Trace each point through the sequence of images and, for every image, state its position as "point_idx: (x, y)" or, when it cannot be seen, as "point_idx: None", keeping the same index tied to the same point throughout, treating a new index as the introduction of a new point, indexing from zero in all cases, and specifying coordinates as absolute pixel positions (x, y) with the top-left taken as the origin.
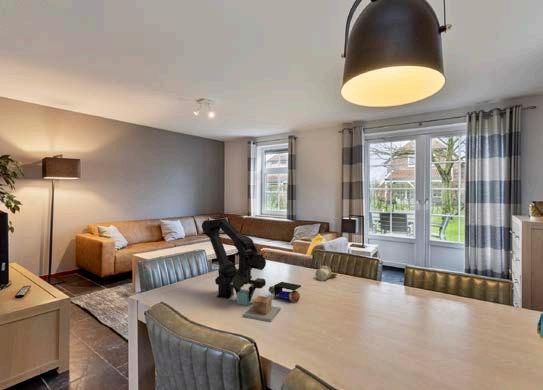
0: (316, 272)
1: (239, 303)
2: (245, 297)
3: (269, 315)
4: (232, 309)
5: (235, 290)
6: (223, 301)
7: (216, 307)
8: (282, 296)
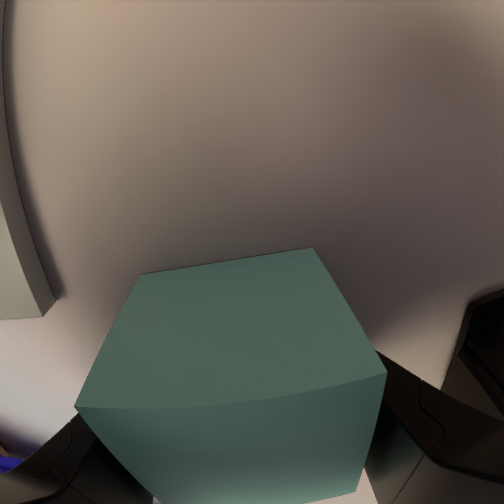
0: None
1: (270, 257)
2: (139, 344)
3: None
4: (240, 21)
5: (453, 404)
6: (488, 216)
7: (463, 21)
8: (11, 462)
